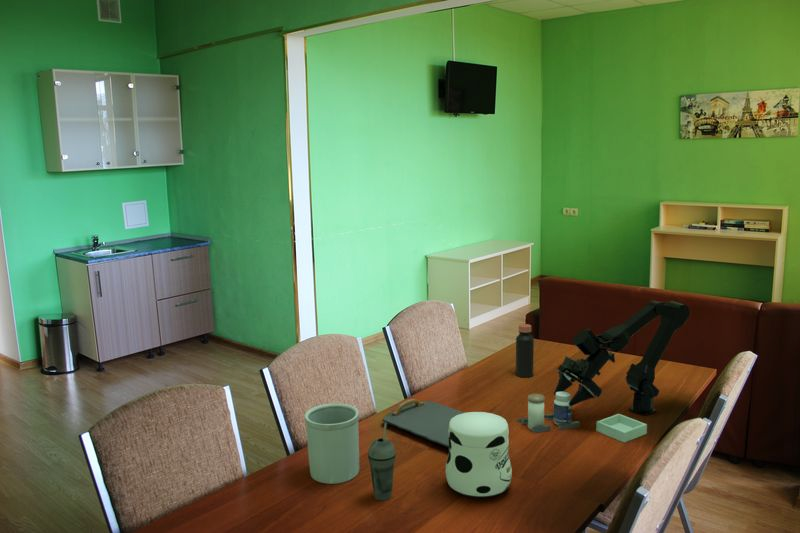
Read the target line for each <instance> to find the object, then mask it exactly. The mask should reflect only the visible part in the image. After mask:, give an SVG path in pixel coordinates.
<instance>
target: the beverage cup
mask: <svg viewBox="0 0 800 533" xmlns="http://www.w3.org/2000/svg"><path fill="white" fill-rule="evenodd" d="M386 424H387V423H385V422H384V426H383V436H382V438H377V439H374V440H373V441H372V442H371V444H370V445H369V448H368V453H367V457H368V461H369V462H368V463H369V465H370V473H371V483H372V489H373V495H374V496H373V497H374V499H376V500H378V501H388V500H390V499H391V498H392V497H393V496H392V493H393V483H394V468H395V461H396V455H397V453H396V449H395V446H394V444H393V443H392V442H391V441H390V440H389V439H387V438H386V434H387V433H386V432H387V426H386Z"/></svg>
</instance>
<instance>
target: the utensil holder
mask: <svg viewBox="0 0 800 533" xmlns="http://www.w3.org/2000/svg"><path fill="white" fill-rule="evenodd" d="M359 417H360V412H359V409H358V408H357V407H355V406H353V405H350V404H346V403H335V402H334V403H325V404H320V405H316V406H314V407H311V408H310V409H307V411H306V412H305V414H304V422H305V424H306V425H305V427H306V439H307V452H308V453H307V454H308V463H309V473H310V477H311V478H312V479H313V480H315V481H316V482H318V483H322V484H327V485H329V484H330V485H331V484H332V485H333V484H341V483H345V482H348V481H351V480H353V479H354V478H355V477H357V475H358V474H359V473H360V443H359V442H360V439H359Z"/></svg>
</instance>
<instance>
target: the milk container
mask: <svg viewBox="0 0 800 533" xmlns="http://www.w3.org/2000/svg"><path fill="white" fill-rule="evenodd" d="M509 431H510V430H509V424H508V422H507V420H506V419H505V418H504V417H503V416H501V415H498V414H495V413H491V412H484V411H471V412H470V411H469V412H464V413H463V414H459V415H456V416H455V417H453V418H452V419H451V421H450V423H449V448H448V455H447V458H446V463H445V477H446V481H447V483H448V486H449V487H450V488H451V489H452V490H453V491H455V492H456V493H458V494H460V495H461V496H465V497H469V498H478V499H487V498H491V497H493V498H494V497H495V496H497V495H500V494H503V493H504V492H505V491H507V489H508V488H509V487H510V485H511V480H512V476H513V474H512V473H513V471H512V470H513V469H512V464H511V460H510V456H509V455H510V454H509V445H510V444H509V442H510V440H509V436H510V435H509V434H510V433H509Z"/></svg>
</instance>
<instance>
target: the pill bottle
mask: <svg viewBox="0 0 800 533" xmlns="http://www.w3.org/2000/svg"><path fill="white" fill-rule="evenodd" d="M571 396H572V395H571V393H570V392H568V391H561V392H556V396H555V395H554V397H555V399H554V400H553V413H554V416H553V419H552V420H553V423H554V424H555V425H557V426H558V424H562V423H568V422H572V418H573V417H572V415H573V414H572V413H573V412H572V411H573V406H570V405H569V402H570V401H571V399H572V397H571Z"/></svg>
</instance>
